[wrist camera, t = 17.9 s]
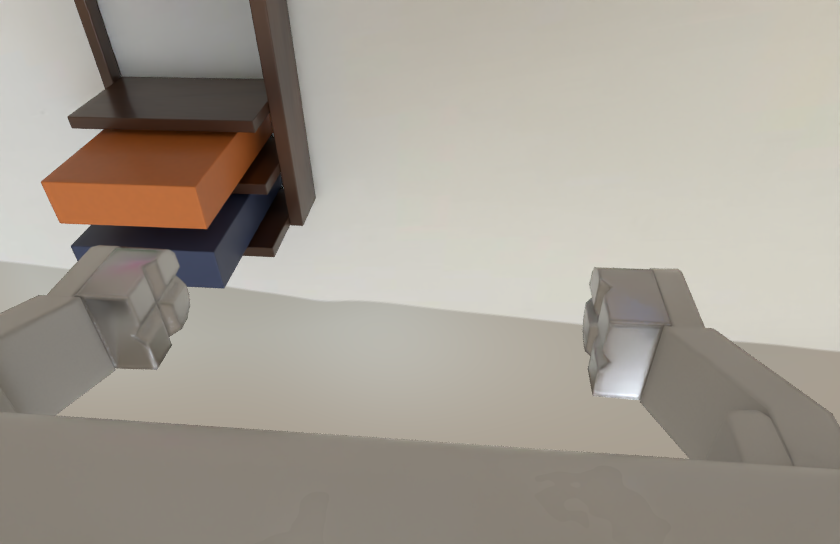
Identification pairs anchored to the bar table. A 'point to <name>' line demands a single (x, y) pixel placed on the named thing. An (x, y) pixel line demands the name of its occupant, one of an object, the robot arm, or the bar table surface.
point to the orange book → (152, 177)
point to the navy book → (194, 239)
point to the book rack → (219, 114)
